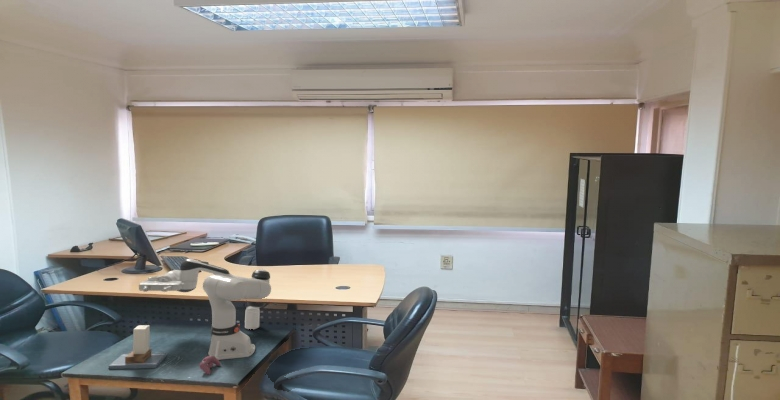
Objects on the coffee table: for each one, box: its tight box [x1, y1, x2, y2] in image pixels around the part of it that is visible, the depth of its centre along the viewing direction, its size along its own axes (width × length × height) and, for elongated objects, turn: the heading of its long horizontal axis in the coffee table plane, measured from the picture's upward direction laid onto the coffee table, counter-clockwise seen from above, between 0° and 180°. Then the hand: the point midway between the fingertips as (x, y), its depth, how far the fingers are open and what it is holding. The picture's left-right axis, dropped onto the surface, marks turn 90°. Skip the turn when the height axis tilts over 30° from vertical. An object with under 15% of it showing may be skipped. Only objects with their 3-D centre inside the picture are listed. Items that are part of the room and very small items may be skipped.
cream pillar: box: [132, 324, 151, 354], centre depth 193 cm, size 5×5×12 cm
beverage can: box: [244, 305, 261, 331], centre depth 240 cm, size 8×8×12 cm
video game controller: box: [198, 355, 222, 375], centre depth 188 cm, size 10×5×7 cm, turn 172°
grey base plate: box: [108, 348, 167, 370], centre depth 192 cm, size 20×12×4 cm, turn 98°
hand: (154, 290), depth 207 cm, fingers open, 8 cm apart
